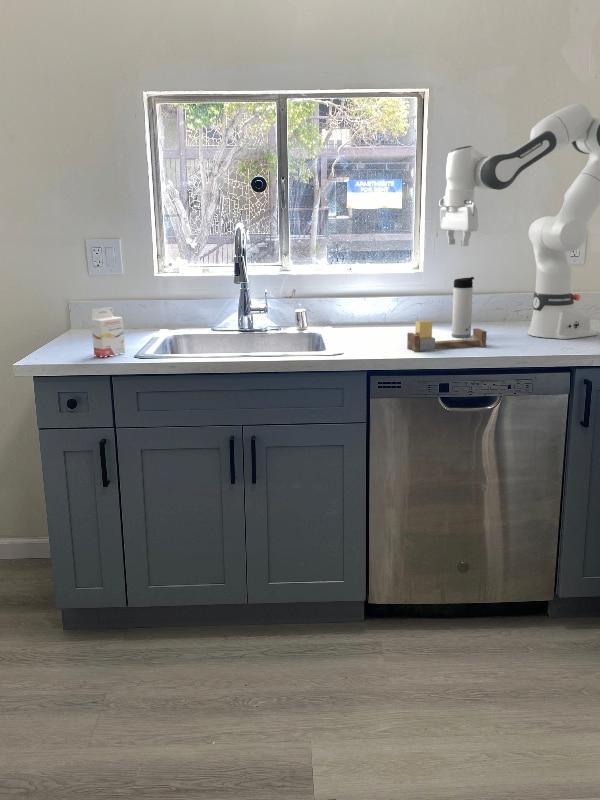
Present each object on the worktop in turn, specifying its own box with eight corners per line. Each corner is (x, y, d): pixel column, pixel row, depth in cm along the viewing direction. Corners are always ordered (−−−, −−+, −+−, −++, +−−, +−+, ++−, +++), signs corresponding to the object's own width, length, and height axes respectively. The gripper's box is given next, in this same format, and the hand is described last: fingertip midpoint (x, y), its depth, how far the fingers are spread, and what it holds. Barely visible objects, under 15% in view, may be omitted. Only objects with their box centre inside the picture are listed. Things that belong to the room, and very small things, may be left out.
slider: (426, 346, 232) (427, 319, 230) (434, 349, 226) (435, 322, 224) (411, 347, 231) (412, 320, 229) (419, 350, 225) (420, 323, 223)
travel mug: (471, 338, 245) (474, 278, 240) (451, 338, 246) (453, 278, 241) (471, 335, 251) (474, 276, 245) (451, 334, 252) (453, 276, 247)
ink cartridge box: (103, 358, 225) (99, 310, 221) (93, 356, 228) (89, 309, 224) (126, 353, 231) (122, 307, 227) (116, 352, 234) (112, 306, 230)
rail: (476, 343, 236) (477, 328, 235) (485, 347, 230) (486, 331, 229) (407, 348, 231) (407, 332, 229) (414, 352, 225) (414, 336, 224)
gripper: (484, 200, 222) (482, 246, 225) (454, 200, 241) (453, 243, 245) (465, 200, 220) (463, 247, 224) (436, 201, 239) (435, 244, 243)
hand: (458, 245), depth 234 cm, fingers open, 8 cm apart
